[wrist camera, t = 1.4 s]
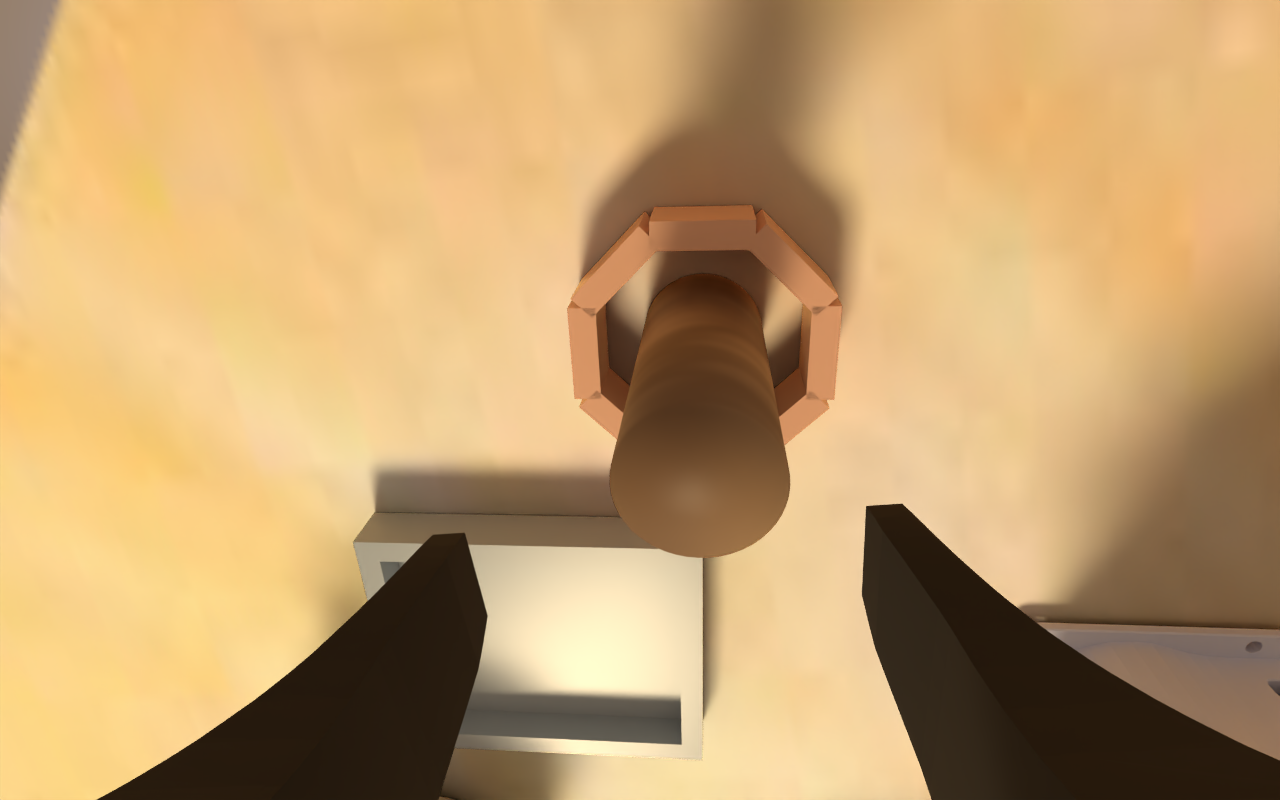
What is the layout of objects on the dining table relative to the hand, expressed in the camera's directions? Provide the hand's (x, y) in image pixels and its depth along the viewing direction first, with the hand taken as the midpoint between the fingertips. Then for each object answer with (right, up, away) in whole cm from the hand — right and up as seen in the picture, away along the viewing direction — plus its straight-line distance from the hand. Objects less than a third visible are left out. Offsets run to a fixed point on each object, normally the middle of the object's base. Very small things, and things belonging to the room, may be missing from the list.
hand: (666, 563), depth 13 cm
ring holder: (+1, +5, +9) cm, 11 cm away
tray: (-4, -6, +15) cm, 17 cm away
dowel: (+1, +5, +9) cm, 11 cm away
